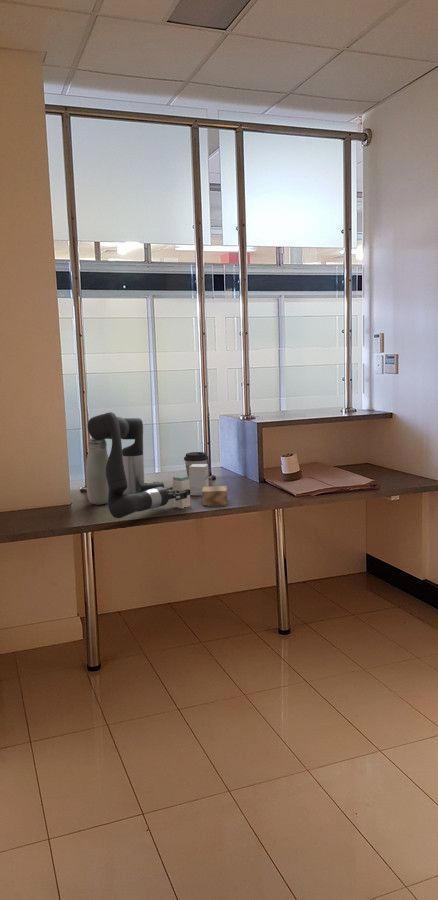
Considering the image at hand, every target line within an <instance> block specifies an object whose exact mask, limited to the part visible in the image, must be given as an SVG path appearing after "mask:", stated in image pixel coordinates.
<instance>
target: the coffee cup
mask: <svg viewBox="0 0 438 900" xmlns="http://www.w3.org/2000/svg"><path fill="white" fill-rule="evenodd" d="M183 460H184V463H185V469H186V476H189V467H190V466H191V465H192V464H208V460H209V456H208V455H207V453H206V452H205V451H204V452H203V451H202V452H201V451H191V452H187V453H186V454H185V456H184V457H183Z"/></svg>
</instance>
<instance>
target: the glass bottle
mask: <svg viewBox="0 0 438 900" xmlns="http://www.w3.org/2000/svg"><path fill="white" fill-rule="evenodd" d="M87 445H88V451H87V458H86V463H85V466H84V467H85V482H86V483H85V485H86V486H85V487H86V495H87V499H88V501H89V503H91V504H92V505H96V506H98V505H99V506H100V505H105V504H107V503H108V494H109V487H108V482H107V477H106V464H107V461H108V458H109V454H108V450H107V441H106V439H103V440H99V441H97V440H95V439H93V438H92V437H91V438H90V439H89V440H88V443H87Z"/></svg>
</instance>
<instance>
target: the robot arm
mask: <svg viewBox="0 0 438 900" xmlns="http://www.w3.org/2000/svg"><path fill="white" fill-rule="evenodd" d="M87 431H88V434H89V436H90V437H91V438H93V439H95V440H97V441H99V440H103V439H105V440H106V439H107V440H111V448H110V453H109V454H108V457H109V458H108V461H107V464H106V477H107V482H108V487H109V494H108V502H107V503H108V504H107V505H108V506H107V507H108V511H109V512H110V514H111V516H112V517H113V518H115V519H122V518H124V517H127V516H128V515H132V514H133V513H136V512H144V511H147V510H153V509H157V508H161V507H163V506H166V505H167V504H168V502H169V501H173V499H176V500H177V501H178V500H181V499H185V498H187V495H190V489H187V490H183V491H178V490H173V486H171V487H164V488H163V487H156V488H152V489H149V490H146V491H143V492H140V487H139V485H140V484H141V483H146V482H145V464H144V463H145V461H144V460H145V459H144V423H143V420H142V418H139V417H132V418H131V417H130V418H129V417H128V418H127V417H126V418H125V417H124V418H123V417H121V416H117V415H116V414H115V413H114V412H111V411H108V412H106V413H102V414H98V415H95V416H92V417H91V418H90V419H89V420H88V422H87ZM122 440H134V442H133V443H132V444H131V445H128V446H126V447H123V446H122ZM175 492H177V493H176V494H175ZM190 496H191V495H190Z"/></svg>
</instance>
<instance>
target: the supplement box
mask: <svg viewBox="0 0 438 900" xmlns="http://www.w3.org/2000/svg"><path fill="white" fill-rule="evenodd" d="M209 480H210V478H209V464H208V463H207V464H192V465H191V466H190V467H189V483H190V496H201V497H202V489H203V487H206V486H209V484H210V482H209Z"/></svg>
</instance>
